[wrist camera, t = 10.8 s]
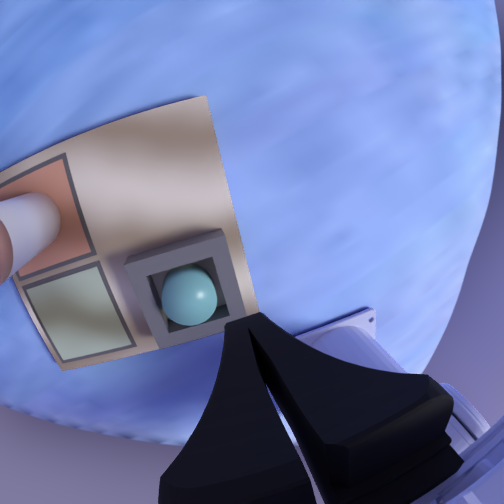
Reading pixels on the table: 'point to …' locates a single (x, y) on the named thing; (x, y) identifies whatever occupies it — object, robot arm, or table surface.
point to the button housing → (175, 256)
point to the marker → (25, 230)
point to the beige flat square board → (121, 226)
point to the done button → (188, 295)
